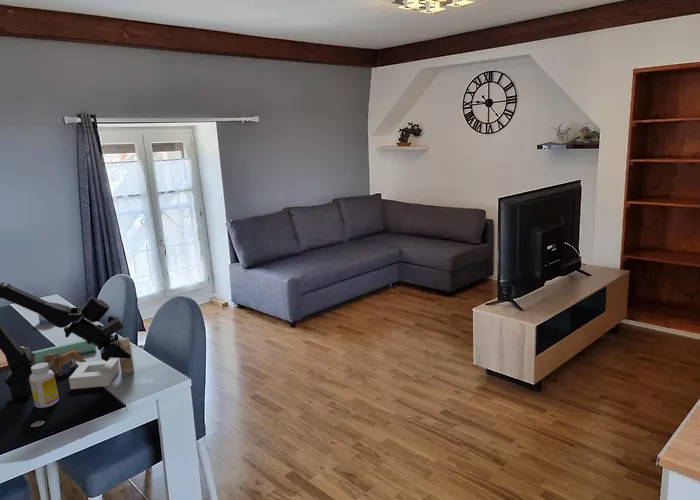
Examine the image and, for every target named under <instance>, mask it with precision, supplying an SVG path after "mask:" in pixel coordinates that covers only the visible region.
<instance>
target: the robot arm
mask: <svg viewBox="0 0 700 500" xmlns="http://www.w3.org/2000/svg"><path fill="white" fill-rule="evenodd" d="M0 299H3V300H6V301H8V302H11V303H13V304H15V305H18V306H20V307H22V308H24V309H27V310H29V311H31V312H34V313H36V314H37V315H38V314H40V315H41V316H43V317H44V318H45V319H46V320H47V321H48V322H50V323H52V324H51V325H53V326H55V327H57V328H60V329H61V328H62V329H63V331H64V333H65V334H64V335H65V336H64V337H65V338H69V336H71V334H73V335H75V336H77V337H78V338H81V339H82V340H86V341H87V343H88V344H90V343H91V344H93V345H95V346H96V349H97V351H98V350H99V351H100V358H101V360H105V361H106V362H107V361H108V360H111V358H113V359H119V358H127V359H129V358H130V357H131V355H130V354H129V353H127V352H126V351H125V350H124V349H122V348H121V347H120V343H119V341H118V342H117V340H118V339H119V334H118V331H121V330H122V329H124V323H123V322H122V321H121V319H120V317H118V316H113V315H109V316H108V317H107V322H105V324H103V325H101V324H100V323H99V324H97V325H96V324H95V323H96V322H99V321H100V320H101V319H102V318H103V317H104V316H105V315H106V313H107V312H108V311H109V310H110V309H111V307H110V306H109V304H107V302H105V301H104V300H102V299H98V298H95V297H93V296H90V297H89V299H88V301H87V302H86V303H85V304H84V306H83V307H82V306H79V307H70V306H68V305H66V304H62V303H59V302H49V301H46V300H44V299H42V298H40V297H38V296H35V295H33V294H32V293H28V292H26V291H24V290H22V289H19V288H18V287H15V286H13V285H11V283H9V282H1V283H0ZM50 323H49V324H50ZM113 334H114V335H113ZM0 351H1V352H2V353H3V355H4V356H5V359H6V363H7V366H8V368H9V370H8V372H7V376H6V378H5V380H4V383H6V386H8V387H9V393H10V397H9V398H7V400H6V402H7V403H12V402H22V401H23V402H24V401H29V400H30V399H31V398H33V394H32V389H31V385H30V380H29V378H30V376H31V375H32V374H31V373H32V371H31V367H32V366H33V365H34V364H35V358H34V357H35V354H33V353H32V352H33V351H31V349H30V347H29V346H28V345H27V346H25V347H22V346H20V345H19V344H18V343H17V342H16V341H15V339H14V337H12V335H11V333H9V331H8V329H6V327H5V326H4V325H3V323H2V322H1V321H0Z"/></svg>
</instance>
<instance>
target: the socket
mask: <svg viewBox="0 0 700 500" xmlns="http://www.w3.org/2000/svg"><path fill="white" fill-rule="evenodd" d="M119 371H121V368H120V361H119V358H113V359H109V360H108V361H107V362H106V361H105V360H103V359H101V360H90V361H86V362H82V363H81V362H80V364H79V366H78V367H76V369H75V370H74V371H73V373H71V375H70V376H69V377H68V383H69V387H70V390H77V389H89V388H98V387H109V386H110V385H111V383H112V381H114V379H115V377H116V376H117V374H118V373H119Z"/></svg>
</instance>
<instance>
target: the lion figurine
mask: <svg viewBox="0 0 700 500" xmlns="http://www.w3.org/2000/svg"><path fill="white" fill-rule="evenodd" d="M43 362H45V363H48V364H49V369H50V370H54V371H53V372H54V376H55V375H57V374H58V376H59V377H60V376H63V365H67V364H68V363H70V362H72V364H71V365H70V366H69V367H70V368H71V369H72V368H74V367H75V365H76V363H77V362H78V363H80V364H81V363H82V362H87V361H86V360H85V359H84V357H83V355H82V354H81V353H80V352H79V351H77V350H72V351H69V352H67V353H65V354H63V355H59V354H57V353H56V354H53V353H48V354H46V355H45V356H44V358H43Z"/></svg>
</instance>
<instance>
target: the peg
mask: <svg viewBox="0 0 700 500" xmlns="http://www.w3.org/2000/svg"><path fill="white" fill-rule="evenodd" d="M118 341H119V343H120V347H121V348H122V349H124V350H125V351H126V352H127V353H129V354H130V355H131V357H130V358H129V359H127V358H118V361H119V367H120V372H121V376H123V377H128V376H132V375H134V373H135V368H134V361H133V355H132V349H131V341H130V337H121V338H118V340H117V342H118Z"/></svg>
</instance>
